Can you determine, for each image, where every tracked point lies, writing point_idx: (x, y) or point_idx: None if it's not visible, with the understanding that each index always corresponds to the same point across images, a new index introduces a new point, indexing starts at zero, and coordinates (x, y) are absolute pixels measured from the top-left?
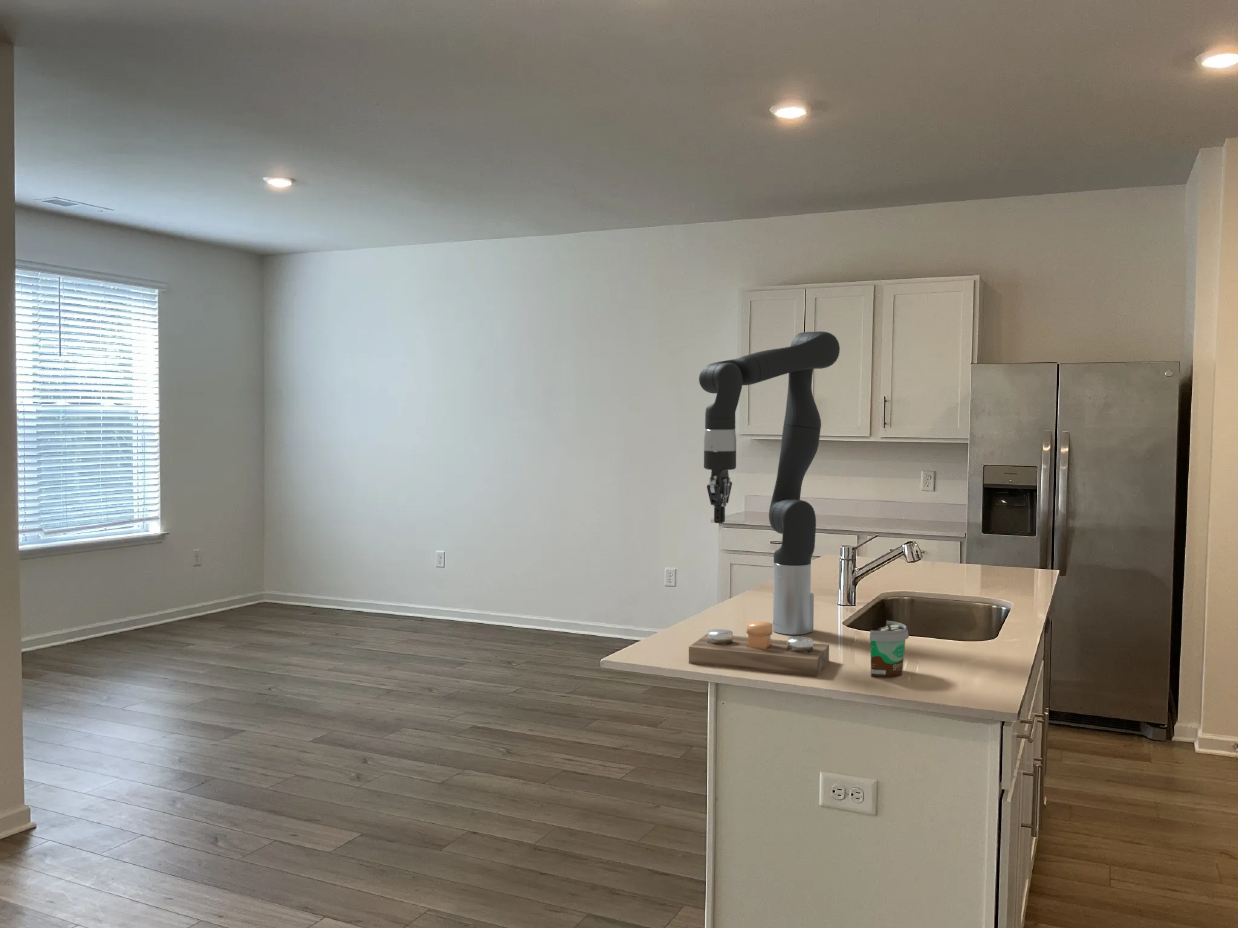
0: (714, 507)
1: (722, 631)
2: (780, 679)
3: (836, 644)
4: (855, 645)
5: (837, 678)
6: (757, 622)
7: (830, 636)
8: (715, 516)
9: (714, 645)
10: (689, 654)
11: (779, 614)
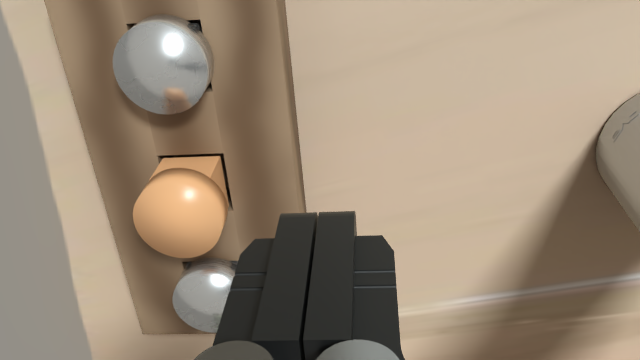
0: (251, 341)
1: (172, 75)
2: (80, 245)
3: (508, 288)
4: (513, 328)
5: (169, 339)
6: (197, 209)
7: (612, 259)
8: (236, 278)
9: (112, 59)
10: None
11: (635, 149)
